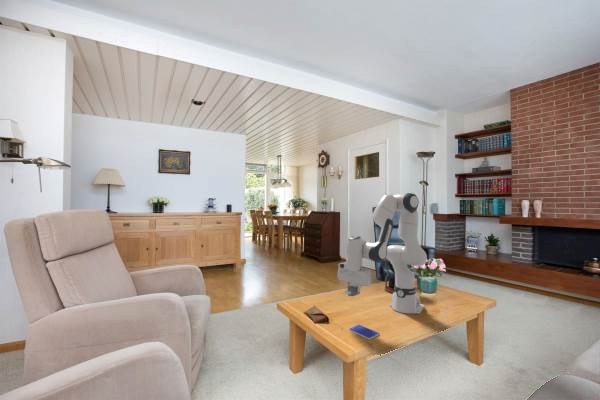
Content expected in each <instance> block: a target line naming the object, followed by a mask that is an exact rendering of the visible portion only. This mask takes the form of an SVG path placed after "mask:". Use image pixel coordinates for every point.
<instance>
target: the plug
mask: <svg viewBox="0 0 600 400" xmlns="http://www.w3.org/2000/svg"><path fill="white" fill-rule="evenodd" d="M358 287H359V286H358V284H352V285H350V286H349V287H348V286H347V290H345V291H344V294H345V295H347V296H348V297H355V296H357V295H360V293H361V291H360V292H359V293H358V292H356V289H357V288H358Z"/></svg>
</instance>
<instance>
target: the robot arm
mask: <svg viewBox="0 0 600 400" xmlns="http://www.w3.org/2000/svg"><path fill="white" fill-rule="evenodd" d="M419 203H420V201H419V198H418V196H417V195H416V194H415V193H409V192H405V193H403V192H402V193H395V194H385V195H383V196H382V197H381V198H380V200H379V201H378V203H377V205H376V207H375V208H374V210H373V213H372V219H373V222H374V223H375V224H376V225H378V226H379V227H380V228H381V230H380V234H379V237H378V240H377V241H376V242H371V241H367V240H364V239H363V238H362V237H361V236H359V235H352V236H350V237H348V238H347V239H346V244H345V245H346V248H345V254H346V257H345V258H346V259H345V261H344V262H340V263H338V264H337V265H338V268H337V279H338V280H339V281H343V282H345V285H346V286H347V288H348V287H349V286H351V284H353V285H358V286H359V287H358V288H357V289H356V292H358V293H359V292H360V293H361V289H362V287H368V288H369V286H372V283H373V282H372V271H371V270H370V269H369V268H365V267H363V259H364V260H367V261H368V260H369V261H372V262H375V263H377V264H378V263H382V262H383V261H384V260H385V258H387V259H388V260H389V261H390V262H391V264H392V266H393V268H394V271H395V287H394V289H395V292H394V293H393V294H392V297H391V303H389V306H390V307H391V308H392V309H393V310H394V311H396V312H398V313H402V314H407V315H408V314H410V315H411V314H418V315H420V314H421V313H422V311H423V309H424V308H425V305H424V304H422V303H421V297H420V296H419V295H418V294H417V292H416V291H417V289H418V286H417V285H416V286H415V274H414V272H413V271H411V270H410V268H409V266H413V267H418V266H422V267H423V266H424V265H425V264H426V262H427V259H428V255H427V253H426V251H425V250H424V249H423V248H422V246H421V245H420V242H419V240H418V227H419V225H418V224H419V215H418V210H417V209H418V207H419ZM395 212H399V213H400V215H399V220H398V228H397V235H398V237H399V238H400V239H401V240H402V241H403V242H404V245H399V244H392V245H389V244H390V240H391V236H392V233H393V229H394V222H393V219H394V218H393V217H394V215H395ZM389 261H388V262H389Z"/></svg>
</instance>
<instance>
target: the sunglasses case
mask: <svg viewBox="0 0 600 400" xmlns="http://www.w3.org/2000/svg"><path fill="white" fill-rule="evenodd" d="M303 314H304V315H306V316H307V317H308V318H309V319H310V320H311V321H312V322H313V323H314V324H316V325H317V324H325V323H329V321H330V319H329V316H328V315H327V314H325V312H322V310H321V309H319V308H318V307H316V306H315V305H313V306H312V307H310V308H309V309H307V310H306V311H303Z"/></svg>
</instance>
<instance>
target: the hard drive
mask: <svg viewBox="0 0 600 400" xmlns="http://www.w3.org/2000/svg"><path fill="white" fill-rule="evenodd" d="M348 330H349V331H350V332H352V333H354V334H357V335H359V336H361V337H363V338H365V339H367V340H372V339H374V338H376V337H378V336H379V335H380V332H378V331H375V330H373V329H371V328H368V327H366V326H364V325H361V324H357V325H354V326H352V327H350V328H349V329H348Z"/></svg>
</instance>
